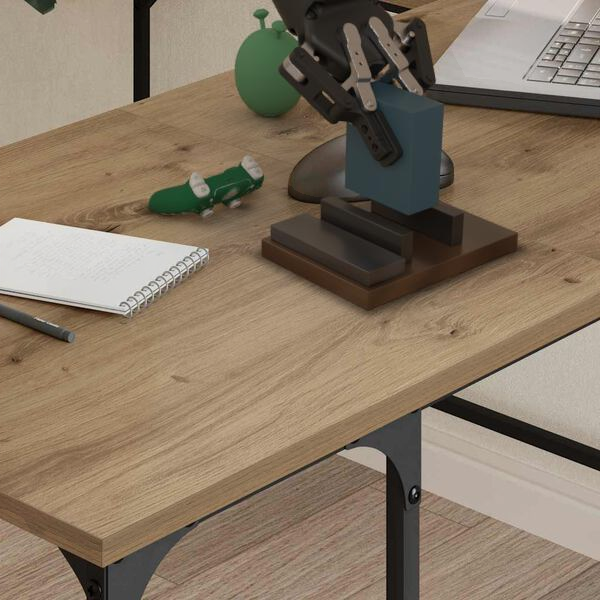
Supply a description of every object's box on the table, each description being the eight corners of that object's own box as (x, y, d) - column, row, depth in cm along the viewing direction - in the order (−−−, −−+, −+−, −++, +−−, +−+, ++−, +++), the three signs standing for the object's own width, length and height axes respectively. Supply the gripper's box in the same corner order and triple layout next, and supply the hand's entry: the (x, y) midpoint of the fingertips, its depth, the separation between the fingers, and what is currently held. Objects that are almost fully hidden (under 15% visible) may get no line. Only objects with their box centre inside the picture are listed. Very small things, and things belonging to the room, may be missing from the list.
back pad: (408, 215, 104) (413, 112, 101) (344, 187, 109) (346, 88, 105) (438, 205, 106) (444, 103, 103) (374, 177, 111) (378, 79, 107)
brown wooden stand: (367, 310, 101) (369, 260, 99) (261, 256, 109) (260, 208, 107) (517, 250, 110) (521, 202, 109) (408, 204, 118) (410, 159, 117)
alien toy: (325, 119, 137) (327, 17, 133) (253, 130, 134) (252, 27, 130) (293, 97, 143) (293, -1, 138) (223, 108, 140) (221, 8, 135)
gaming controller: (162, 241, 116) (194, 209, 111) (141, 201, 116) (172, 167, 111) (248, 211, 121) (281, 180, 117) (227, 173, 122) (260, 140, 117)
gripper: (255, -56, 100) (369, 154, 97) (398, -83, 108) (506, 110, 106) (211, 2, 106) (317, 202, 103) (350, -27, 114) (451, 157, 112)
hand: (412, 154), depth 104 cm, fingers closed on back pad, 3 cm apart
